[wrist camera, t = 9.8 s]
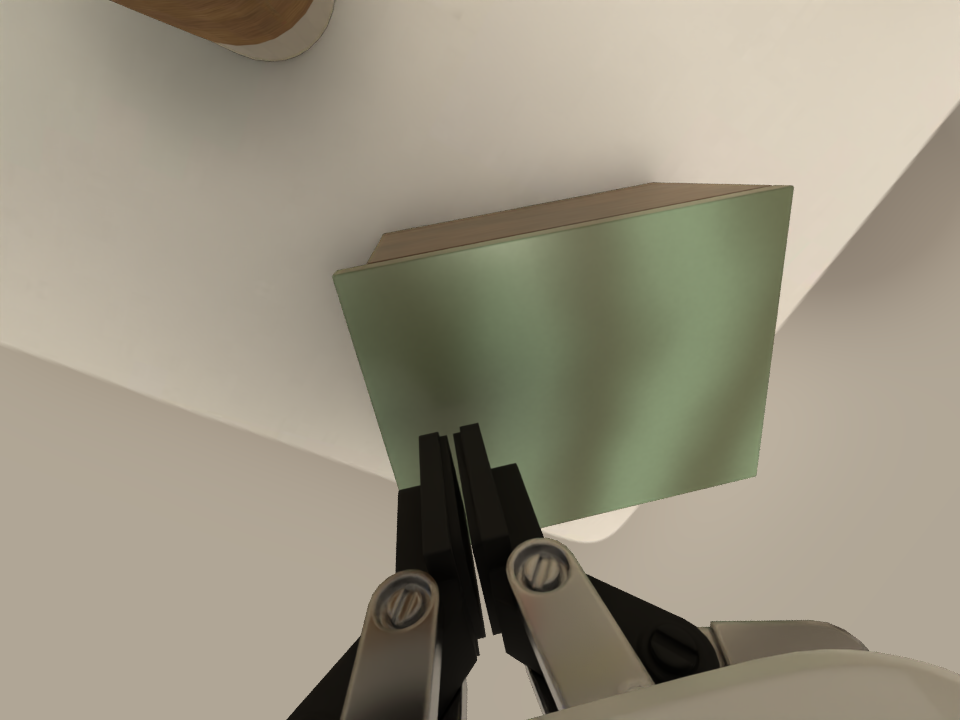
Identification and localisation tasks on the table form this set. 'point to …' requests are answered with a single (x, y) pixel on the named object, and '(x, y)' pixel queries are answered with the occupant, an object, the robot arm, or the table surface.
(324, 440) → the table surface
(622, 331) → the green rectangular panel
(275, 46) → the coffee cup
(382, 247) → the cold frame
